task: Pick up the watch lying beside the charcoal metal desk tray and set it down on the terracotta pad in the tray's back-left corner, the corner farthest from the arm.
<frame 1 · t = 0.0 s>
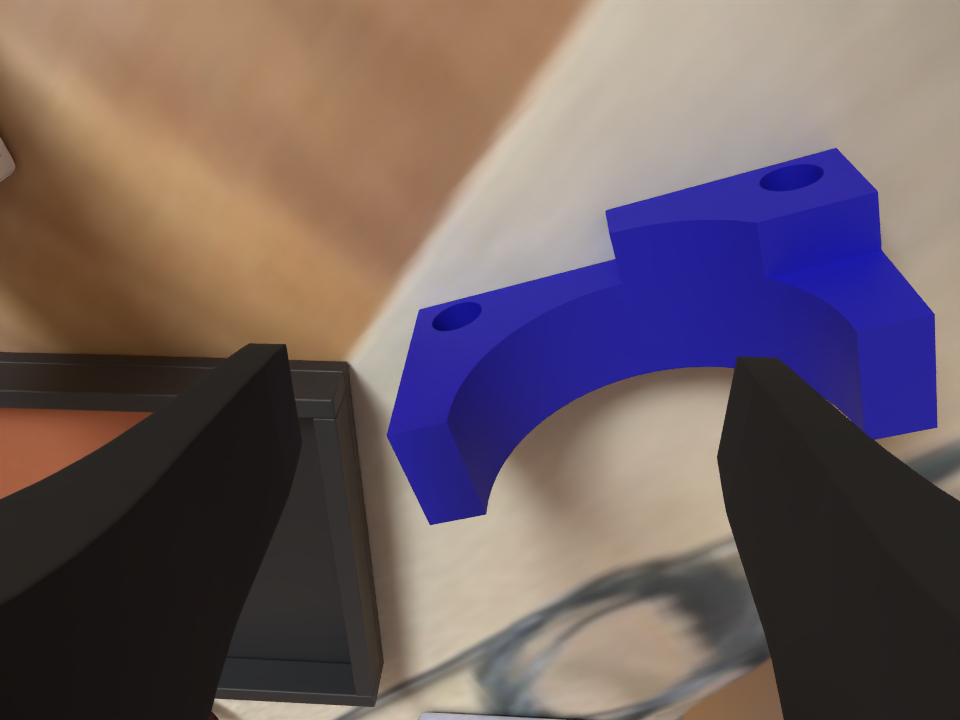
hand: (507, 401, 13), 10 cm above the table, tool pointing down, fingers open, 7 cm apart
tray: (149, 523, 30), on the table
blue u-shaped bracket: (622, 278, 23), on the table
corner pad: (58, 473, 28), resting on tray
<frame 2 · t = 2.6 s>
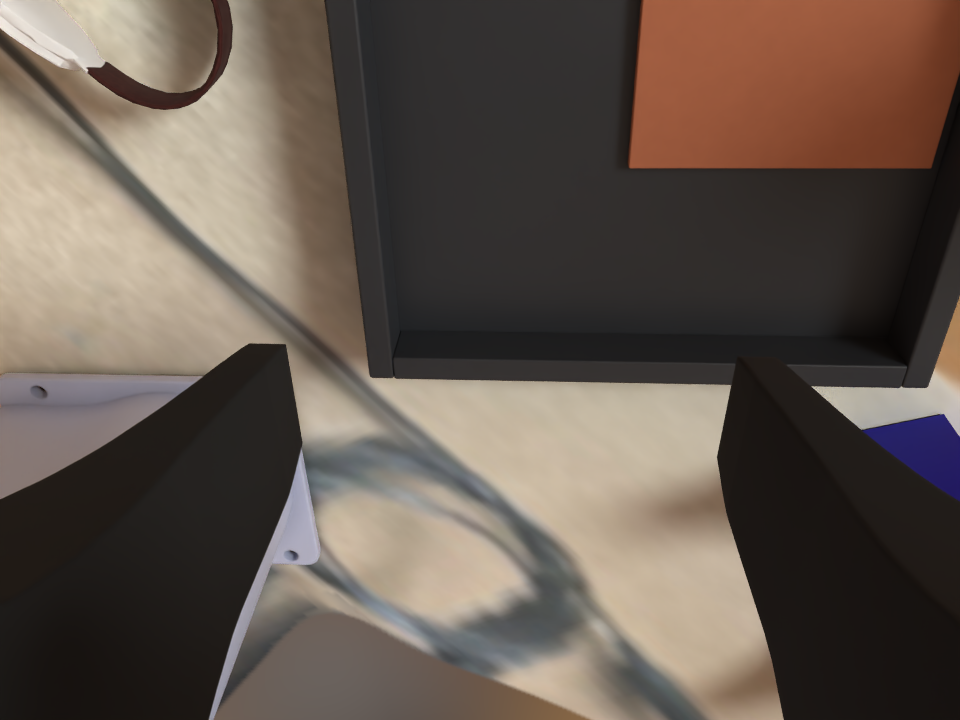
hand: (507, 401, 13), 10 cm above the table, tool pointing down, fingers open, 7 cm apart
tray: (663, 49, 19), on the table
blue u-shaped bracket: (922, 549, 27), on the table
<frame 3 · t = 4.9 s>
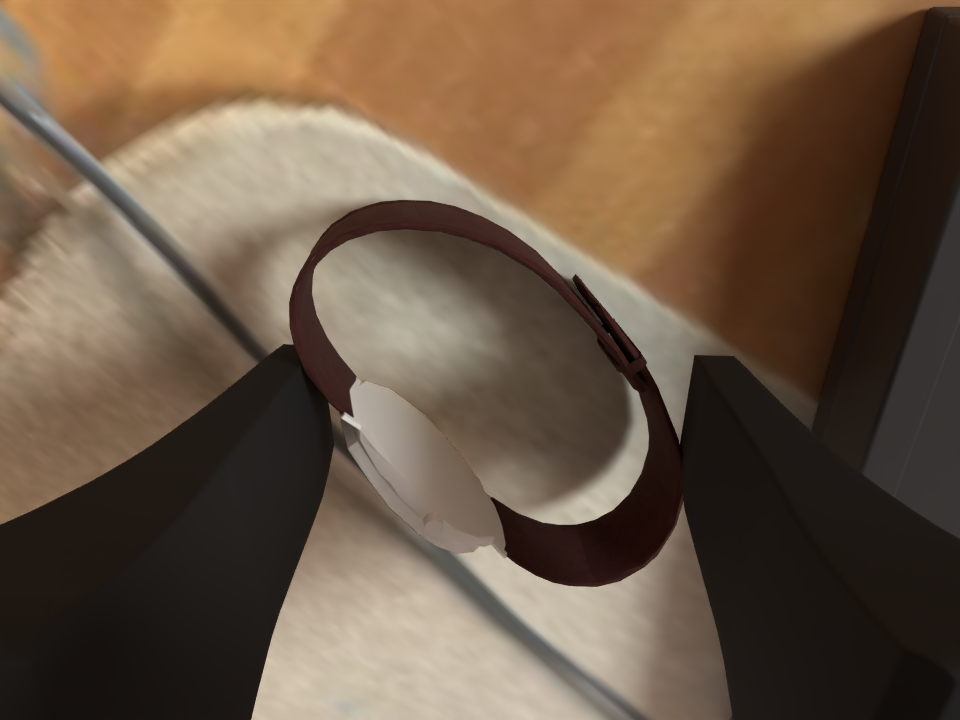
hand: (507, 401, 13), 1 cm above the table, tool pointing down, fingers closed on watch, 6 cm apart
watch: (503, 348, 14), on the table, touching gripper
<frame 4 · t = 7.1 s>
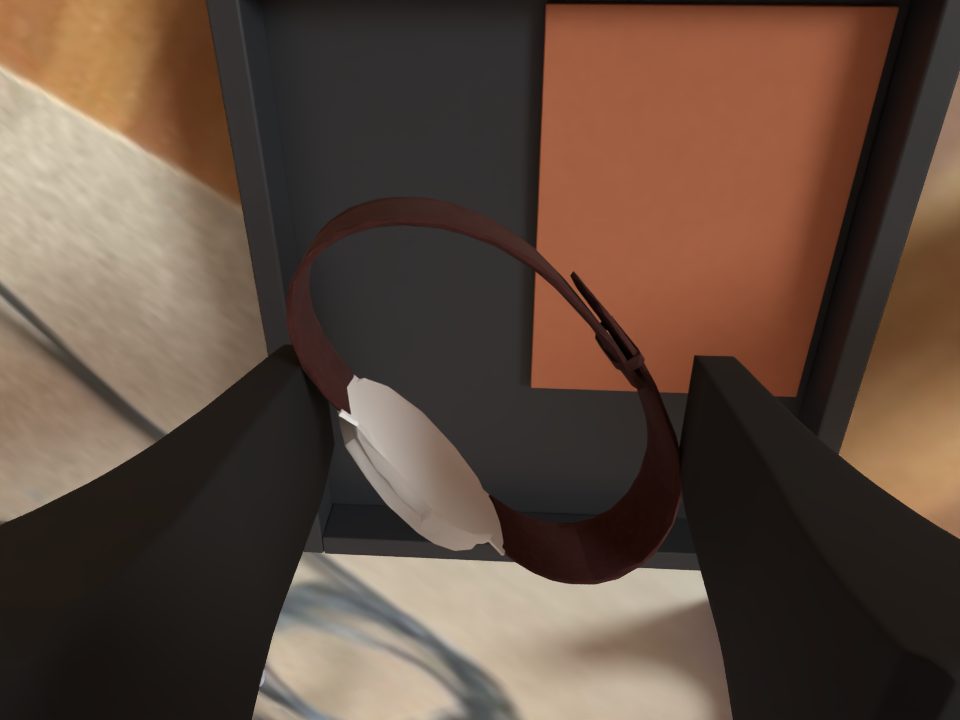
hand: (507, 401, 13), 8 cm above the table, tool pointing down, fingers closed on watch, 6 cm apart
watch: (501, 345, 14), point 7 cm above the table, touching gripper
tray: (560, 290, 21), on the table
corner pad: (685, 221, 19), resting on tray
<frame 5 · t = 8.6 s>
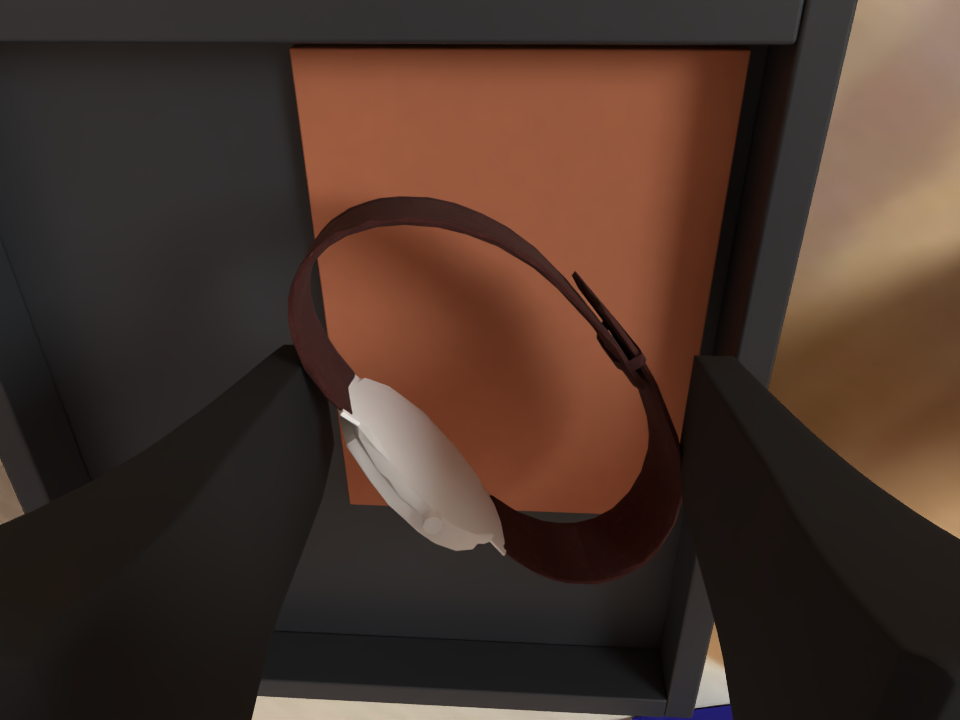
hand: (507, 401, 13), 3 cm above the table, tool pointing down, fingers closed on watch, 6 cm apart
watch: (502, 345, 14), point 2 cm above the table, touching gripper
tray: (378, 388, 17), on the table
corner pad: (512, 313, 15), resting on tray
when the fingers open (2 cm above the table, at t = 9.6 s): watch stays where it is, resting on corner pad.
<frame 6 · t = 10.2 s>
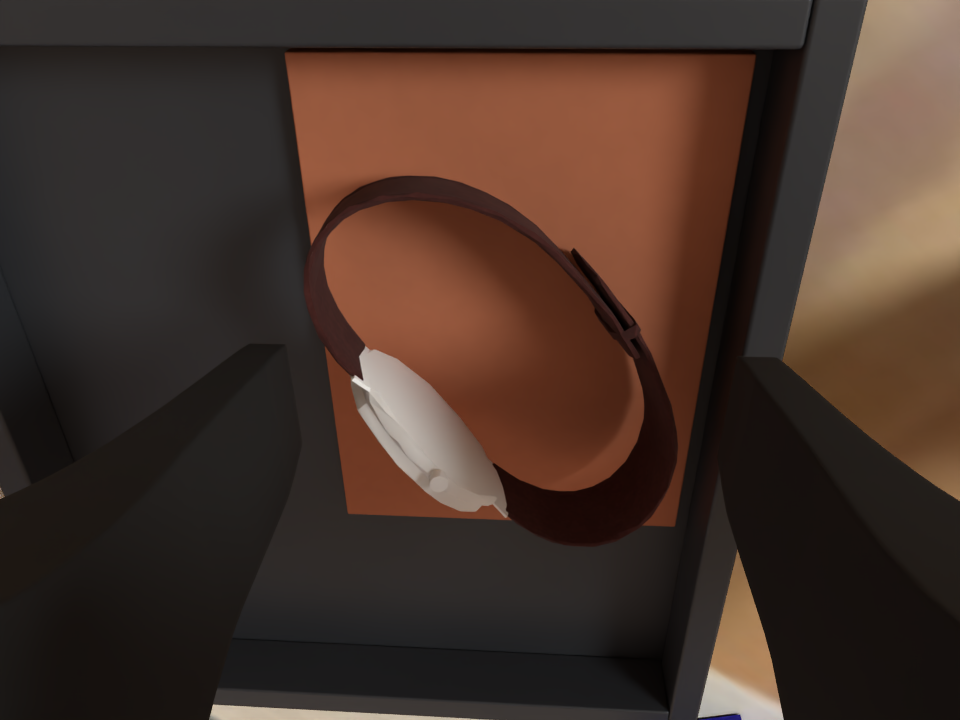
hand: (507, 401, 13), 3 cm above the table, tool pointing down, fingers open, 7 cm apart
watch: (505, 320, 15), point 1 cm above the table, touching corner pad
tray: (376, 396, 17), on the table
corner pad: (512, 321, 15), resting on tray
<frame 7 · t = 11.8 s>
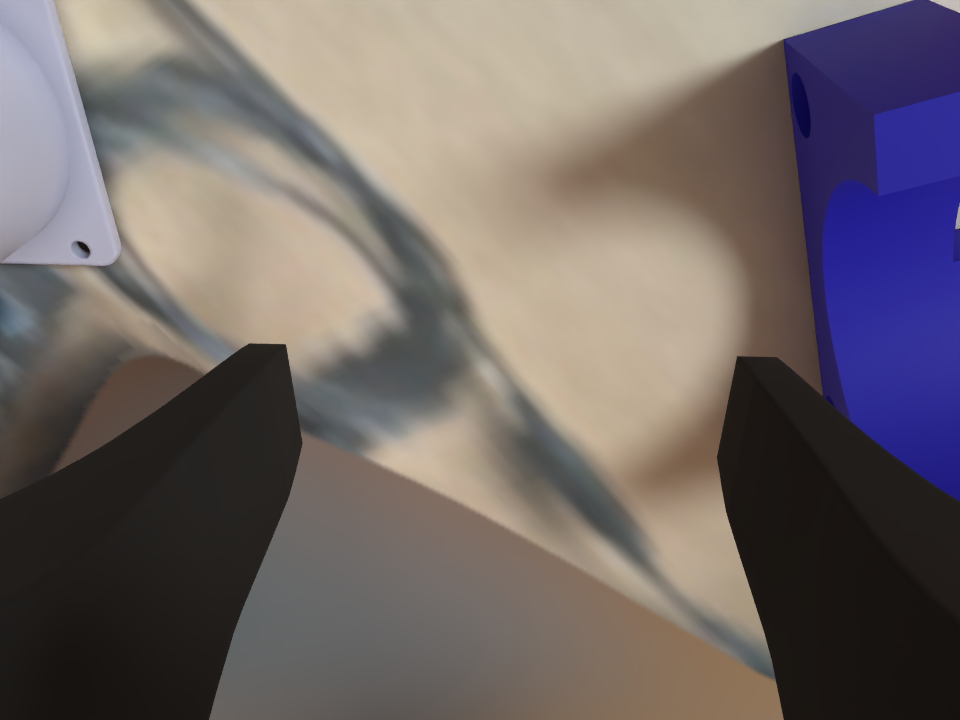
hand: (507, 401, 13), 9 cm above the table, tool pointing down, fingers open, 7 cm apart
blue u-shaped bracket: (894, 240, 21), on the table
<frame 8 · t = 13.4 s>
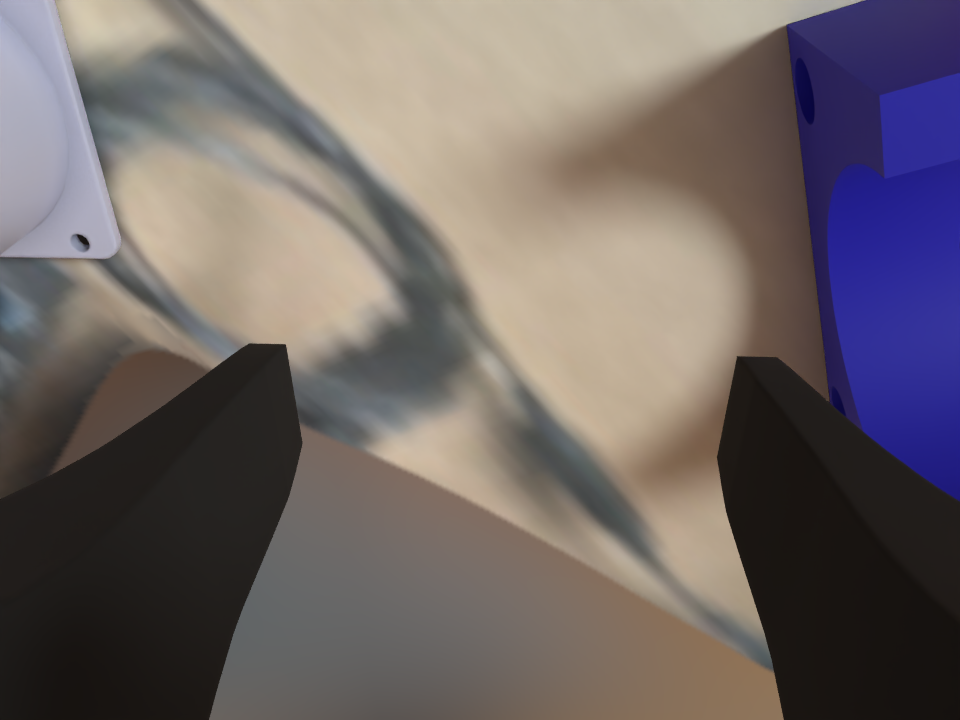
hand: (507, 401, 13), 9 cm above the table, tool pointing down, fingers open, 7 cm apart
blue u-shaped bracket: (900, 228, 21), on the table
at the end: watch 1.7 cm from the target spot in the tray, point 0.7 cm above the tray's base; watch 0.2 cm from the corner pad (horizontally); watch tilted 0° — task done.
